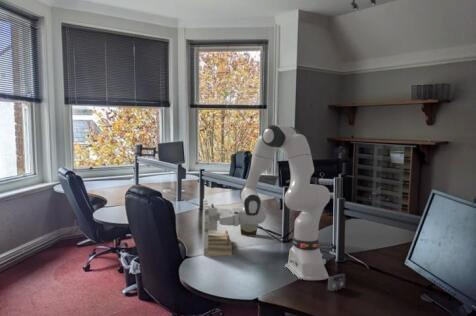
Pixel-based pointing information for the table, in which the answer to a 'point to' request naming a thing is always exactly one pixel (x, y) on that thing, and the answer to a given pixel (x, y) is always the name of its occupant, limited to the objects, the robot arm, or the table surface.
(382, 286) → the table surface
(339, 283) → the mini dv tape
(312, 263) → the robot arm
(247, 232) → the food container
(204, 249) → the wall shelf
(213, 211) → the cabinet block
